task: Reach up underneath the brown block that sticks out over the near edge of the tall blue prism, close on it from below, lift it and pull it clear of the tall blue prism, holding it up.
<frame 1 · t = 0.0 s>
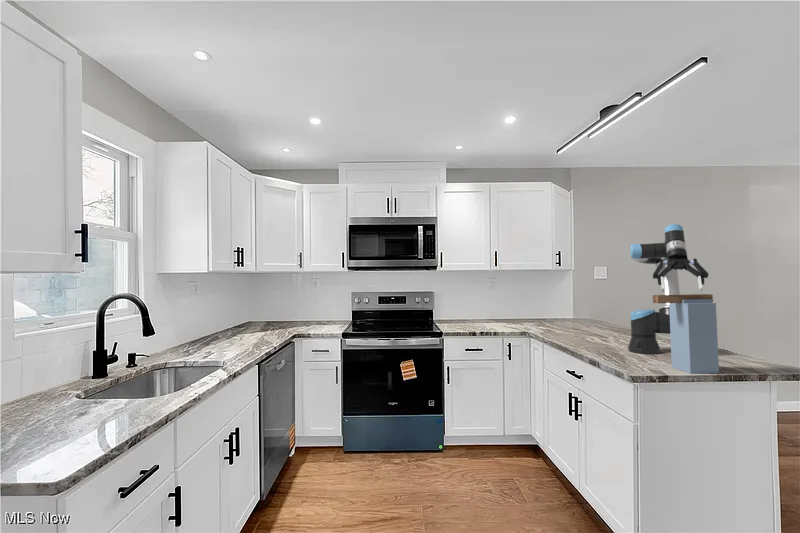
hand: (681, 290, 170), 36 cm above the worktop, tool tilted 35°, fingers open, 13 cm apart
tall blue prism: (694, 369, 173), on the worktop
brown block: (682, 302, 174), point 30 cm above the worktop, touching tall blue prism
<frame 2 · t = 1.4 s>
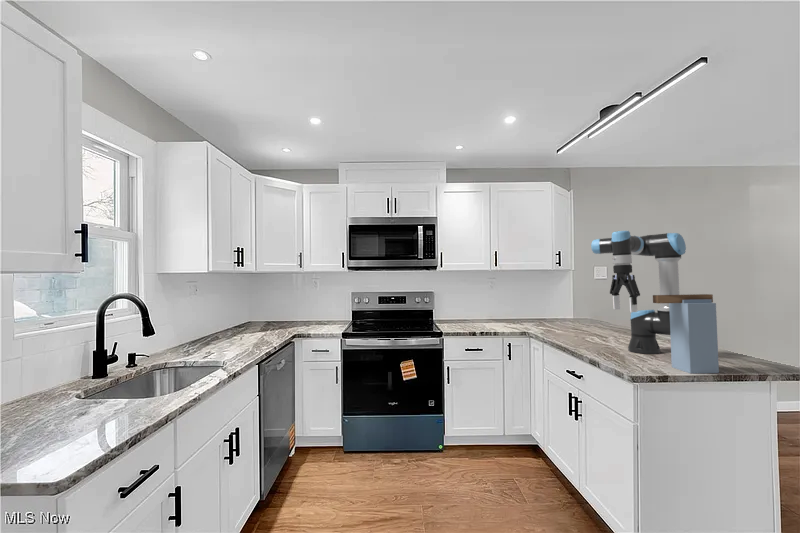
hand: (625, 310, 179), 26 cm above the worktop, tool pointing down, fingers open, 13 cm apart
nothing on the worktop moved.
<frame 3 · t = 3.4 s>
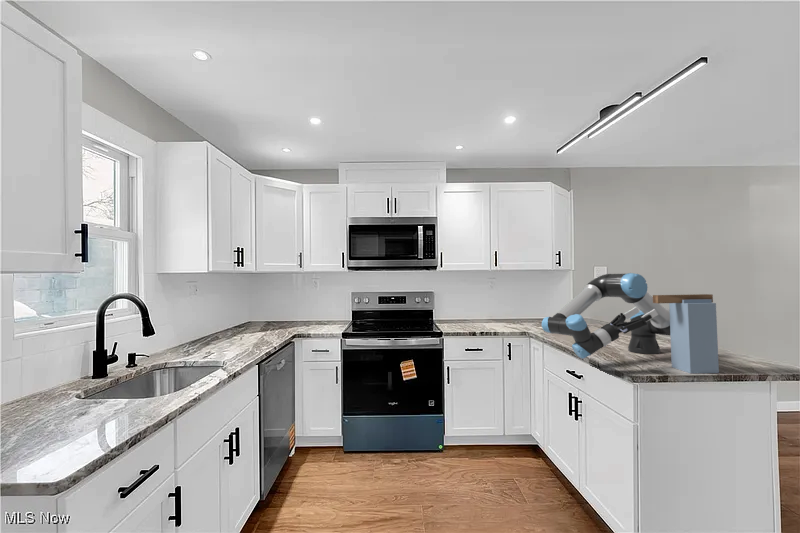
hand: (646, 310, 174), 27 cm above the worktop, tool pointing upward, fingers open, 13 cm apart
nothing on the worktop moved.
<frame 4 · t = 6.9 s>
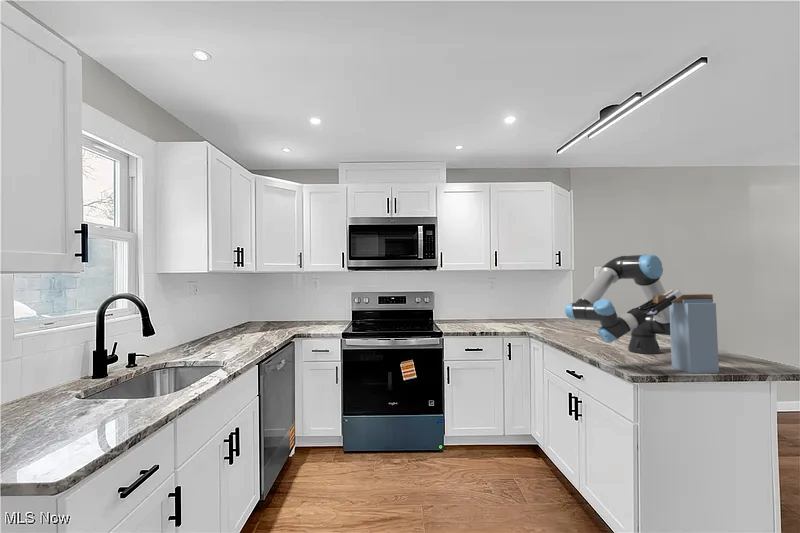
hand: (676, 292, 174), 35 cm above the worktop, tool pointing upward, fingers closed on brown block, 3 cm apart
brown block: (682, 302, 174), point 30 cm above the worktop, touching gripper, tall blue prism
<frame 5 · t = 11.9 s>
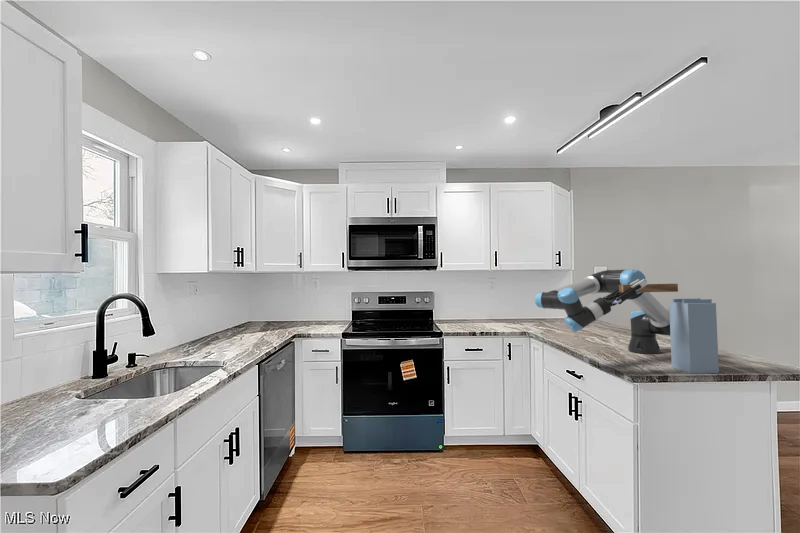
hand: (642, 281, 175), 40 cm above the worktop, tool pointing upward, fingers closed on brown block, 3 cm apart
brown block: (648, 291, 175), point 35 cm above the worktop, touching gripper
at the end: the gripper is holding brown block; brown block moved 15.8 cm from its start; brown block inside the target area (1.0 cm from its centre), point 35.1 cm above the worktop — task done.
